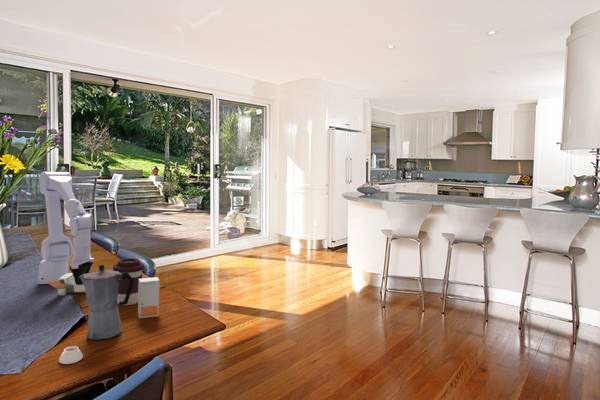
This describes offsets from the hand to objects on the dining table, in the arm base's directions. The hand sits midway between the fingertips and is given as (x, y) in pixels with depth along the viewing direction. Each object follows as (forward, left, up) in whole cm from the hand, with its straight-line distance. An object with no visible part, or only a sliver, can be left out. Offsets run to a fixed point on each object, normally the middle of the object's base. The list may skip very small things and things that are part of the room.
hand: (81, 282), depth 144 cm
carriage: (0, 0, -3) cm, 3 cm away
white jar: (+15, -54, -4) cm, 56 cm away
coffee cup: (+19, -13, -4) cm, 24 cm away
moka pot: (+19, -39, -4) cm, 44 cm away
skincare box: (+28, -26, -4) cm, 39 cm away
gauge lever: (-5, -8, +1) cm, 10 cm away
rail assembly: (+2, 0, -3) cm, 4 cm away
